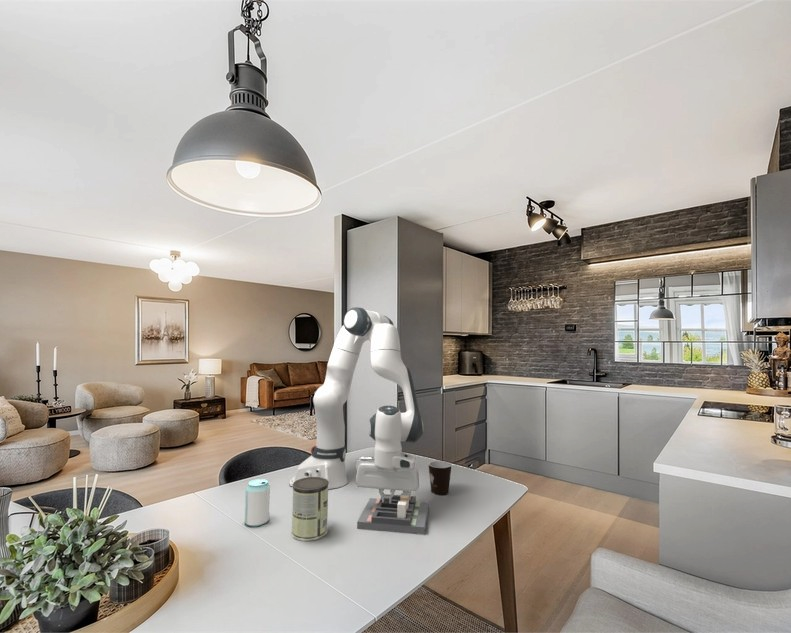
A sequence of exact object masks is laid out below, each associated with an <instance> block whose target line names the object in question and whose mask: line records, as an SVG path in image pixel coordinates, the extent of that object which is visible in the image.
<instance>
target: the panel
mask: <svg viewBox="0 0 791 633" xmlns="http://www.w3.org/2000/svg"><path fill="white" fill-rule="evenodd" d="M384 495H385V496H390V495H391V494H386V493H384ZM400 497H401V494H400V495H398V494H394V495H393V497H392V503H391V504H388V503H382V497H381V496H380V498H376V497H375V498H374V497H370V498H368V502H367V503H366V505H365V507H364V509H363V510H362V512H361V514H360V516H359V518H358V519H357V521H356V525H357V526H356V528H357V529H358V530H359V529H360V530H366V531H367V530H368V531H370V530H371V531H382V532H392V533H403V534H404V533H405V534H416V535H425V533H426V527H427V519H428V513H429V502H428V501H418V500H416V499H417V497H416V496H414V495H413V496H412V495H411V501H409V509H406V519H405V518H397V504H398V501H400Z"/></svg>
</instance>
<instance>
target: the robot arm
mask: <svg viewBox="0 0 791 633" xmlns="http://www.w3.org/2000/svg"><path fill="white" fill-rule="evenodd" d="M367 341H369V342H370V351H369V352H370V355H369V356H370V366H371V369H372V370H373V372H374V373H375V374H376V375H378V376H379V377H380V378H383V379H385V380H389V382H390V381H391V382H393V383H395V384H397V385H398V387H400V388H401V389H402V392H403V397H404V403H405V409H406V411H405V412H401V409H400V408H399V407H397V406H395V405H382V406H380V407H378V408H377V410H376V413H374V414H373V415H372V416H371V417H370V418H369V425H370V427H369V428H370V430H369V433H368V434H369V437H370V438H371V439H372V440H374V441H375V445H374V450H373V454H374V456H369V457H367V456H360V457H359V458H357V459H356V461H355V468H356V470H357V471H356V475H355V485H356V487H357V488H362V489H363V488H364V489H365V488H366V489H377V490H378V493H379V496H380V498H381V497H382V503H388V504H391V503H392V497H393V495H395V494H396V491H402V492H403V491H411V492H417V491H418V490H419V487H420V478H419V470H418V467H417V466H416V457H415V456H414V455H411V454H410V453H406V452H404V451H402V450H403V447H402V442H404V443H412V444H413V443H416V442H417V441H419V440H420V439H421V438H422V437H423V434H424V423H423V420H422V418H421V417H422V416H421V412H420V409H419V402H418V398H417V393H416V389H415V383H414V380H413V376H412V373H411V370H410V368H409V367H408V366H406V365H405V364H404V361H403V360H402V356H401V354H402V352H401V343H400V342H401V341H400V335H399V331H398V329H397V326H395V325H394V322H393V321H392V320H391V318H389V317H388V316H386V315H383V314H381V313H379V312H377V311H373V310H369V309H365V308H363V307H355V306H354V307H351V308H350V309H348V310H347V311H346V312H345V314H344V316H343V325H341V327H340V329H339V332H338V333H337V336H336V338H335V341H334V343H333V346H332V350H331V352H330V355H329V359H328V362H327V365H326V372H325V376H324V378H325V379H324V382H323V384H322V385H320V386H319V387H318V388H317V389H316V390H315V393H314V396H313V398H312V402H313V406H314V415H315V416H314V417H315V421H316V422H315V423H316V439H315V440H316V441H315V442H316V443H315V444H314V445H313V446H312V447H311V449H310V453H311V455H310V456H308V457H307V458H306V459H305V460H304V461H302V462H301V463H300V464H299V465H298V466H297V469H296V471H295V475H293V477H292V478H290V480H289V484H288V486H289V487H293V483H294V482H295V481H297V480H299V479H302V478H307V477H321V478H324V479H327V480H328V481H329V485H328V490H331V489H337V488H341V487H344V486H345V485H347V484H348V483H349V480H348V475H347V471H346V462H345V461H346V455H347V452H346V451H347V450H346V445H345V440H346V439H345V435H346V434H345V433H346V430H345V429H346V425H345V419H344V417H345V416H344V404H345V403H346V402H347V400H348V396H349V393H350V390H351V385H352V381H353V377H354V373H355V371H356V370H355V369H356V367H357V363H358V360H359V357H360V354H361V351H362V348H363V346H364V344H365V342H367ZM384 490H389V493H390V494H389V495H390V496H385V495H384V494H385V493H384Z"/></svg>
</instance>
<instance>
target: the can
mask: <svg viewBox="0 0 791 633" xmlns="http://www.w3.org/2000/svg"><path fill="white" fill-rule="evenodd" d="M270 494H271V486H270V484H269V480H267V479H264V478H256V479H252V480H250V481H248V483H247V486H246V487H245V499H244V523H245V524H246V525H247V526H250V527H259V526H262V525H264V524H266V523H267V522H268V521H270V520H269V519H270V497H271V496H270Z"/></svg>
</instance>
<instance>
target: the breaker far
mask: <svg viewBox="0 0 791 633" xmlns="http://www.w3.org/2000/svg"><path fill="white" fill-rule="evenodd" d="M402 493H406V494H409V501H411V496H412V491H402Z"/></svg>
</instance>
